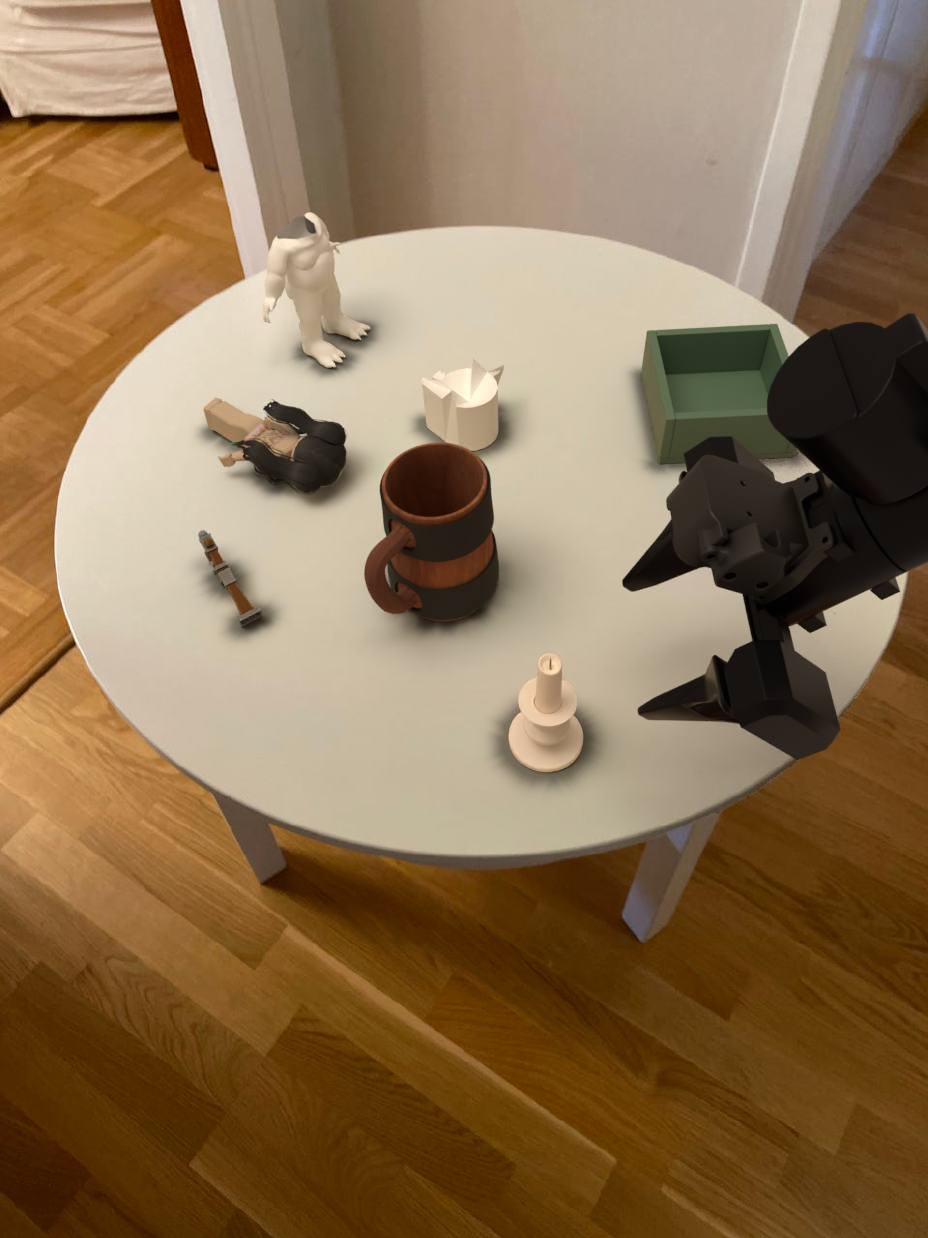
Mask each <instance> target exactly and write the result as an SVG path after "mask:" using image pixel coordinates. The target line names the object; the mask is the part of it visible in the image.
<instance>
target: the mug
mask: <svg viewBox="0 0 928 1238" xmlns="http://www.w3.org/2000/svg"><path fill="white" fill-rule="evenodd" d="M491 478H492V477H491V474H490V470H489V467H488V466H487V464H486V463H485V462H484V461H483V460H482V459H481V458H480V457H479V456H478V455H477V454H475V453H474V451H470V450H468V449H466V448H464V447H462V446H459V445H455V444H450V443H446V442H429V443H428V442H427V443H423V444H420V445H416V446H413V447H411V448H409V449H406V450H404V451H403V452H401V453H400V454H399V455H397V456H396V457H394V459H393V460H391V462H390V463H389V465H388V466H387V467H386V469H385V471H384V472H383V474H382V476H381V479H380V483H379V496H380V503H381V512H382V521H383V522H382V523H383V531H384V533H385V536H384V537H383V538H382V539H381V540H379V542H378V543H377V544H376V545H374V547H372V549H371V550H370V552H369V554H368V556H367V558H366V560H365V564H364V569H363V570H364V572H363V575H364V577H363V578H364V582H365V586H366V589H367V591H368V594H369V596H370V597H371V599H372V600H373V602H374V603H375V604H376V606H378V607H379V608H380V610H382V611H384V612H385V613H388V614H391V615H400V614H403V613H405V612H407V611H408V612H409V613H412V614H414V615H416V616H417V617H420V618H422V619H424V620H428V621H429V620H430V621H434V622H452V621H456V620H460V619H463V618H466V617H468V616H470V615H472V614H474V613H475V612H476V611H479V610H480V609H482V607H484V606H485V605H486V604H487V603H488V602H489V601H490V600H491V598H492V597H493V595H494V594H495V592H496V589H497V587H498V583H499V580H500V579H499V578H500V577H499V576H500V566H499V565H500V564H499V563H500V562H499V553H498V547H497V540H496V536H495V533H494V531H493V526H494V524H495V512H494V505H493V495H492V480H491ZM386 568H387V574H388V580H387V575H386ZM388 581H389V582H388Z"/></svg>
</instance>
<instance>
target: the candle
mask: <svg viewBox="0 0 928 1238" xmlns="http://www.w3.org/2000/svg"><path fill="white" fill-rule="evenodd" d="M537 666H538V667H537V671H536V677H533V678H531V679H529V680H528V681H526V682H525V684H524V685H523V686H522V687H521V689H520V691H519V693H518V700H517V703H518V707H519V710H520V712H519V713H517V715H516V716H515V717H514V718H513V720H512V721H511V724H510V726H509V728H508V744H509V749H510V751H511V753H512V755H513V757H514V758H515V759H516V760H517V762H519V763H520V764H521V765H522V766H524V767H526V768H528V769H529V770H533V771H536V772H538V773H539V772H540V773H551V772H558V771H561V770H563V769H566V768H568V767H569V766H571V765H572V764H573V763H574V762H576V760H577V759H578V757H579V756H580V755H581V751H582V748H583V745H584V731H583V729H582V725H581V723H580V721H579V719H577V717H576V716H575V715H574V714H575V713H576V710H577V708H578V696H577V692H576V690H575V689H574V687H573V686H572V684H570V683H569V682H568V681H567V680H565V679H564V678H563V664H562V660H561V658H560V657H559V656H557V655H556V654H554V653H544V654H542V655H541V656H540V657H539V659H538V661H537Z"/></svg>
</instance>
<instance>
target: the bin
mask: <svg viewBox="0 0 928 1238" xmlns="http://www.w3.org/2000/svg"><path fill="white" fill-rule="evenodd" d="M643 348H644V349H643V355H642V356H643V357H642V364H641V371H640V380H641V384H642V388H643V389H642V390H643V394H644V399H645V403H646V408H647V413H648V418H649V423H650V427H651V428H650V429H651V433H652V438H653V442H654V443H653V444H654V448H655V453H656V457H657V461H658V463H657V464H659V465H661V464H683V463H685V458H684V453H685V452H687V451H688V450H690V449H692V448H693V447H695V446H696V445H698V444H699V443H701V442H702V441H704V440H705V439H707V438H709V437H723V436H732V437H733V438H734V439H736V440H737V441H738V442H739V443H740V444H741V445H742V446H744V447H745V448H746V449H747V450H748V451H749V452H750V453H752V454H753V455H754V456H755V457H756V458H757V459H758V460H765V459H785V458H794V456H795V454H796V450H797V449H796V448H795V447H794V446H793V445H792V444H791V443H790V442H789V441H788V440H787V439H786V438H784V437H783V436H782V435H781V434H780V433H779V432H778V431H777V430H776V429H775V428H774V426H773V425H772V423H771V422H770V420H769V418H768V414H767V398H768V394H769V390H770V386H771V384H772V382H773V380H774V378H775V376H776V373H777V372H778V370H779V369H780V367H781V366H782V365H783V363H784V362H785V360H786V359H787V358H788V357H789V356H790V355H789V353H788V350H787V347H786V344H785V342H784V339H783V335H782V333H781V330H780V327H779V324H778V323H769V324H768V323H764V324H744V325H726V326H725V325H724V326H708V327H707V326H705V327H687V328H667V329H656V330H655V329H651V330H646V335H645V342H644V347H643Z"/></svg>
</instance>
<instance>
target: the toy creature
mask: <svg viewBox="0 0 928 1238" xmlns="http://www.w3.org/2000/svg"><path fill="white" fill-rule="evenodd" d="M330 239H331V238H330V233H329V231H328V228H327V225H326V223H324V221H323V220H322V219H321V218H320V217H319V216H318V215H317V214H316V213H314V212H311V211H310V212H306V213H304V214H302V215H298V216H297V217H295V218H293V219H292V220H290V221H289V222H288V223H286V224H285V225H284V226H283V227H282V228H281V229H280V231H279V232H278V233H277V235H275V237H274V238H273V240H272V242H271V245H270V249H269V250H268V254H267V261H266V263H267V265H266V278H265V282H264V291H265V298H264V300H263V301H262V302H263V303H262V308H263V309H262V320H263V321H264V322H265V323H268V324H271V320H270V317H269V314H270V312H273V311H274V310H275V308H276V306H277V302H278V300H279V299H280V298H281V296H282V295H283V292H284V291H285V293H286V295H287V297H288V298H289V299H290V300H292V303H293V306H294V309H295V312H296V315H297V317H298V320H299V323H298V327H299V331H300V336H301V345H302V346H301V347H302V348H301V349H302V351H303V352H304V354H305V355H307V356H309V357H312V358H314V359H315V360H317V362H318V363H319V364H320V365H321V366H323V367H325V368H327V369H330V368H336V367H337V365H336V363H343V359H342V358H346V355H345V353H344V352H343V350H341V349H338V348H337V347H336V346H334V344H332V343H330V342H328V341H326V340H324V338H323V331H324V332H325V333H327V334H331V335H332V334H338V335H341V336H343V337H347V338H349V339H351V340H353V341H355V340H359V341H362V338H361V337H362V336H368V333H367V332H366V331H367V330H371V327H370V326H369V324H365V323H364V322H360V321H356V320H354V319H352V318H351V317H349V316H347V315H345V314H344V313H343V312H342V308H341V307H342V305H341V299H342V294H341V291H340V287H339V284H338V281H337V278H336V274H335V265H336V262H335V261H336V260H335V253H334V251H335V252H336V254H338V255H340V254H341V252H340V249H339V248H338V247H337V246H341V242H339V241H336V242H333V241H331V240H330Z"/></svg>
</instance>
